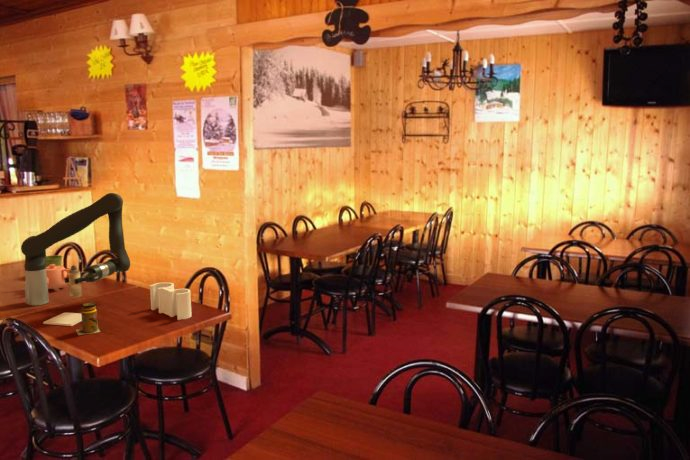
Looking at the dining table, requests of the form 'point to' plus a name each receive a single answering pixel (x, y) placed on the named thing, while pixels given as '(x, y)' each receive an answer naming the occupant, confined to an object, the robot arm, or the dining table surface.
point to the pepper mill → (74, 288)
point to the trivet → (65, 319)
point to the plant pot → (53, 260)
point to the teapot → (56, 277)
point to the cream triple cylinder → (171, 300)
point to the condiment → (88, 319)
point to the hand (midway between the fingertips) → (70, 281)
